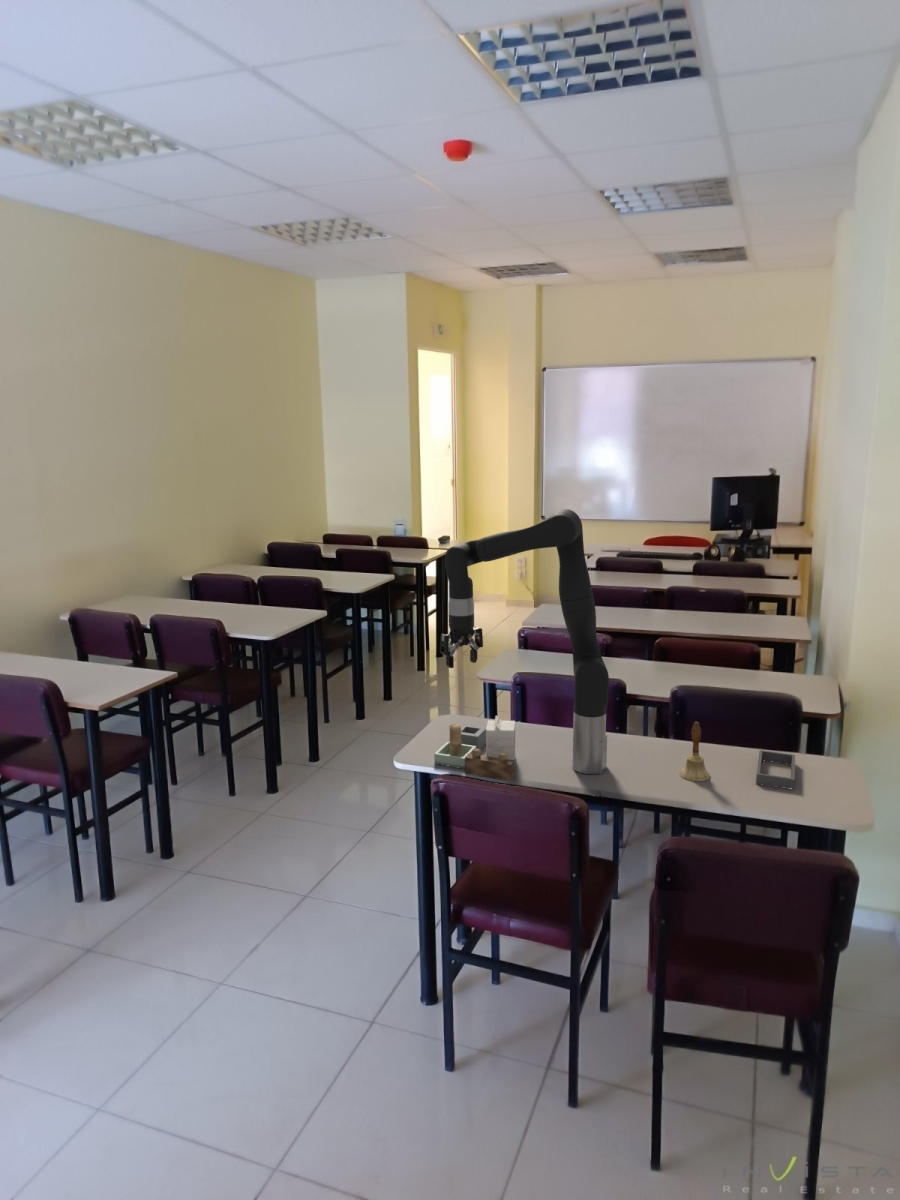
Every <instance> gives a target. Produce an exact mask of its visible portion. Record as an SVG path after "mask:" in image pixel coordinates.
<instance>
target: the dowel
mask: <svg viewBox="0 0 900 1200" xmlns="http://www.w3.org/2000/svg"><path fill="white" fill-rule="evenodd" d="M461 726H462V725H461V724H458V723H452V724H450V725H449V742H450V755H453V756H459V757H462V750H461Z"/></svg>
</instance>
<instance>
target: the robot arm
mask: <svg viewBox="0 0 900 1200" xmlns="http://www.w3.org/2000/svg"><path fill="white" fill-rule="evenodd" d="M583 532H584V531H583V523H582V520H581V518H580V516H579V515H578V513H576V512H575V511H574V510H572V509H567V508H564V509H560V510H558V511H557V512H555V513H553V514H552V515H550V516H549V517H548V518H547V519H545V520H542V521H541V522H538V523H537V524H535V525H531V526H529V527H525V528H521V529H515V530H508V531H503V532H499V533H494V534H492V535H491V534H490V535H487V536H484V537H482V538H479V539H475V540H470V541H466V542H461V543H459V544H456V545H453V546H451V547H449V548H448V550H447V551H446V552H445V555H444V556H445V557H444V566H445V573H446V577H447V580H448V627H449V633H447V634H445V633H441V634H440V639H439V640H440V643H439V653H440V654H442V655H444V656H445V664H446V666H447V667H448V668H449V669H454V668H455V662H454V661H455V660H454V654H455V652H456V651H457V650H458V649H459V648H460V647H461V648H462V647H463V646H468V647H469V648H470V649H469V661H470V663H472V664H474V663H477V660H478V650H479V649H480V648H483V646H484V637H483V628H481V627H479V626H478V627H477V626H475V603H474V602H475V601H474V583H473V579H472V577H470V576H469V570H468V567H470V566H472V565H477V564H479V563H482V562H485V563H486V562H491V561H496V560H499V559H503V558H507V557H510V556H514V555H518V554H520V553H523V552H527V551H532V550H533V551H534V550H538V549H545V548H546V549H548V548H556V551H557V555H558V561H559V562H558V563H559V568H558V569H559V570H558V571H559V574H558V595H559V601H560V605H561V606H560V607H561V613H562V616H563V619H564V622H565V626H566V630H567V632H568V635H569V638H570V639H569V640H570V643H571V651H572V665H573V677H574V702H573V720H572V721H573V725H572V769H573V770H574V771H576V772H577V773H580V774H584V775H596V774H598V775H599V774H600V775H602V774H603V773H604V771H605V769H606V768H607V764H608V763H607V762H608V761H607V759H608V757H607V755H608V735H607V734H606V733H607V730H606V729H607V728H606V726H607V708H608V704H609V702H608V701H609V684H610V683H609V681H610V679H609V671H608V668H607V666H606V664H605V661H604V659H603V657H602V653H601V650H600V647H599V643H598V639H597V638H598V636H597V612H596V611H597V610H596V604H595V603H596V602H595V597H594V592H593V587H592V583H591V579H590V573H589V569H588V566H587V561H586V555H585V548H584V547H585V546H584V545H585V544H584V533H583ZM473 636H474V638H473Z"/></svg>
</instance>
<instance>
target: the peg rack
mask: <svg viewBox="0 0 900 1200" xmlns="http://www.w3.org/2000/svg"><path fill="white" fill-rule="evenodd" d="M481 753H482V752H481V749H473V750H472V754H470V753H468V755H467V756H466V757H465V769H464V774H465V775H472V776H475V777H476V776H477V777H484V778H489V779H497V780H501V781H508V782H512V781H513V780H514V779H515V777H516V776H515V774H516V772H515V770H516V769H515V766H516V760H515V761H514V760H508V759H507V754H506V753H499V758H495V757H489V756H486V755H481Z"/></svg>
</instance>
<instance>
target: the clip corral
mask: <svg viewBox="0 0 900 1200" xmlns="http://www.w3.org/2000/svg"><path fill="white" fill-rule="evenodd" d="M758 751H759V752H758V759H757V767H756V768H757V769H756V770H757V771H756V779H755V785H758V784H763V785H762V786H764V785H769V786H768V787H771V786H777V787H776V788H778V787H785V788H792V789H794V790H795V781H796V779H795V778H796V777H795V776H796V754H792V753H786V752H785V753H784V752H778V751H771V750H763V749H759V750H758ZM762 760H765V761H764V762H766V761H773V762H780V763H787V764H791V765H790V777H788V776H787V777H786V776H780V775H773V774H768V773H767V774H766V773H761V770H762V762H763V761H762ZM773 762H772V763H773ZM780 763H779V764H780ZM787 764H786V765H787Z"/></svg>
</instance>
